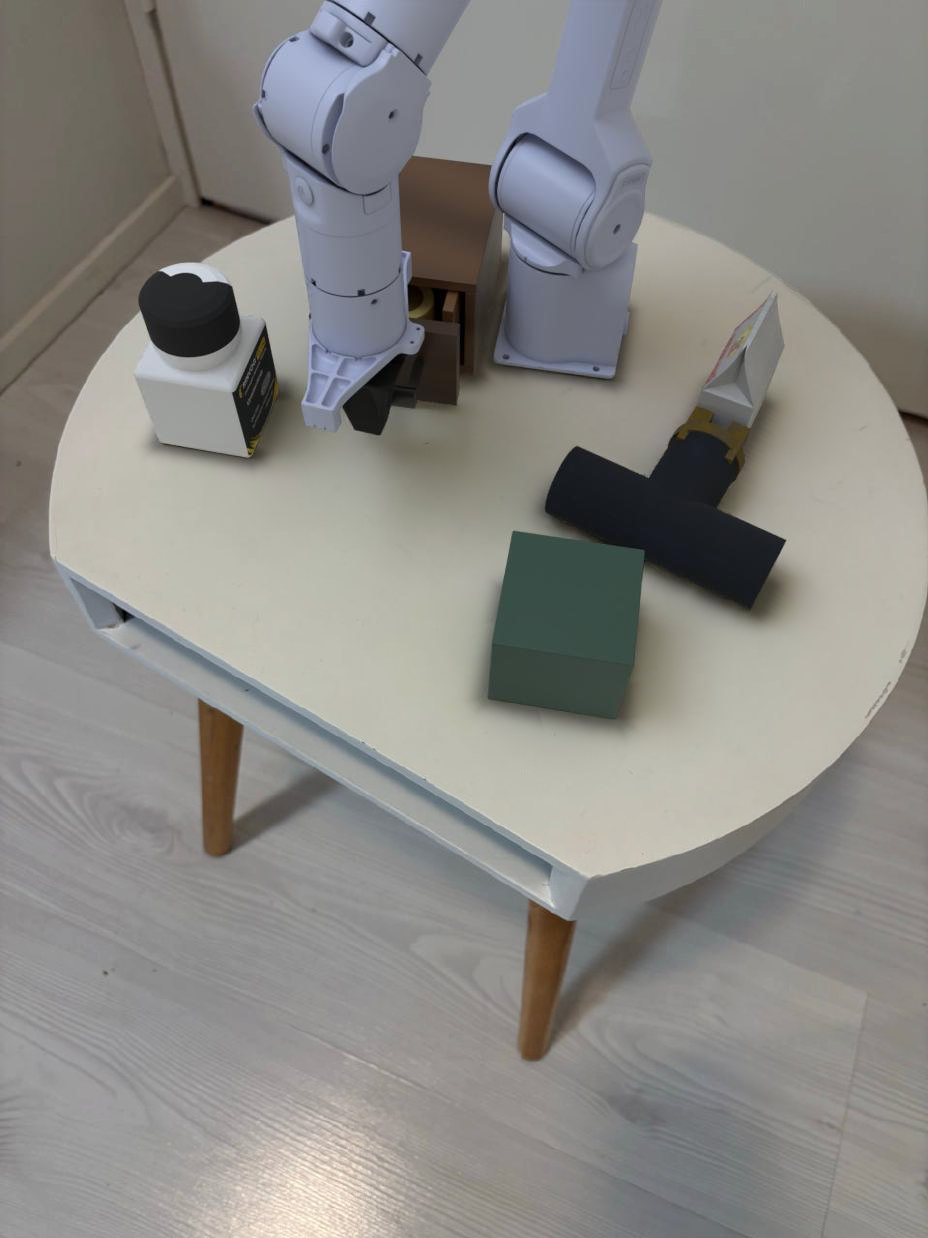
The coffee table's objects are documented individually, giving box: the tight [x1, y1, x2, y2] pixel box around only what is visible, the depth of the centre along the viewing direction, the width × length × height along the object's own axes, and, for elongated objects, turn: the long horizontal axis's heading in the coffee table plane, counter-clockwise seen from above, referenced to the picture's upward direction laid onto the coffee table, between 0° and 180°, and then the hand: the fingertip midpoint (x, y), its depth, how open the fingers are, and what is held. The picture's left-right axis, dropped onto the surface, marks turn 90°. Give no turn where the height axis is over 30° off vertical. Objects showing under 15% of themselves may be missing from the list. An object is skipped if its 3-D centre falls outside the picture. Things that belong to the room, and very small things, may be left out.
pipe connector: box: [544, 405, 787, 611], centre depth 65 cm, size 12×5×15 cm
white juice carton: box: [696, 289, 786, 431], centre depth 68 cm, size 4×7×10 cm, turn 152°
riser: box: [487, 530, 645, 720], centre depth 59 cm, size 8×8×7 cm
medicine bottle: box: [133, 262, 280, 458], centre depth 67 cm, size 7×7×12 cm
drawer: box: [308, 287, 465, 409], centre depth 71 cm, size 17×10×7 cm, turn 170°
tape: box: [407, 284, 435, 321], centre depth 73 cm, size 5×5×3 cm
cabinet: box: [398, 155, 504, 376], centre depth 75 cm, size 14×12×9 cm
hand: (369, 426), depth 67 cm, fingers closed
